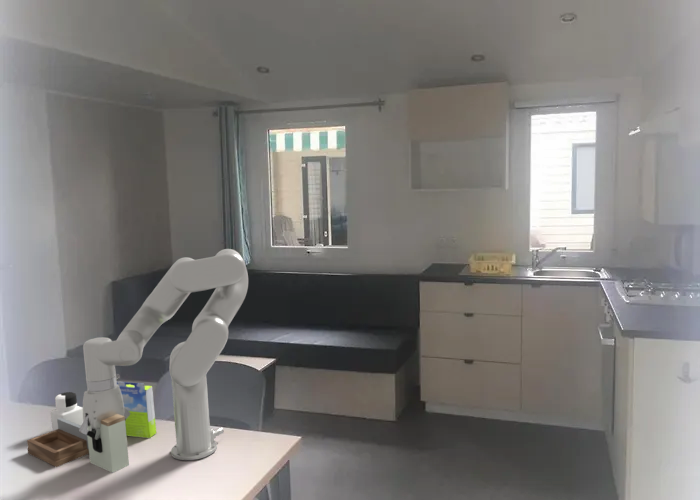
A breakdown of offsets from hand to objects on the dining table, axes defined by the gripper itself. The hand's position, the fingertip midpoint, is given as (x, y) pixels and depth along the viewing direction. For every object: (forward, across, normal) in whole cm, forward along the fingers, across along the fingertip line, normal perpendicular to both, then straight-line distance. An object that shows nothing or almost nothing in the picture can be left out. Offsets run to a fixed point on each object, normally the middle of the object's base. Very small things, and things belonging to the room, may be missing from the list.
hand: (107, 446), depth 168 cm
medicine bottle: (+5, -6, -32) cm, 33 cm away
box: (+5, -16, -10) cm, 20 cm away
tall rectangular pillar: (+5, 0, 0) cm, 5 cm away
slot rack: (+5, +4, -19) cm, 20 cm away
